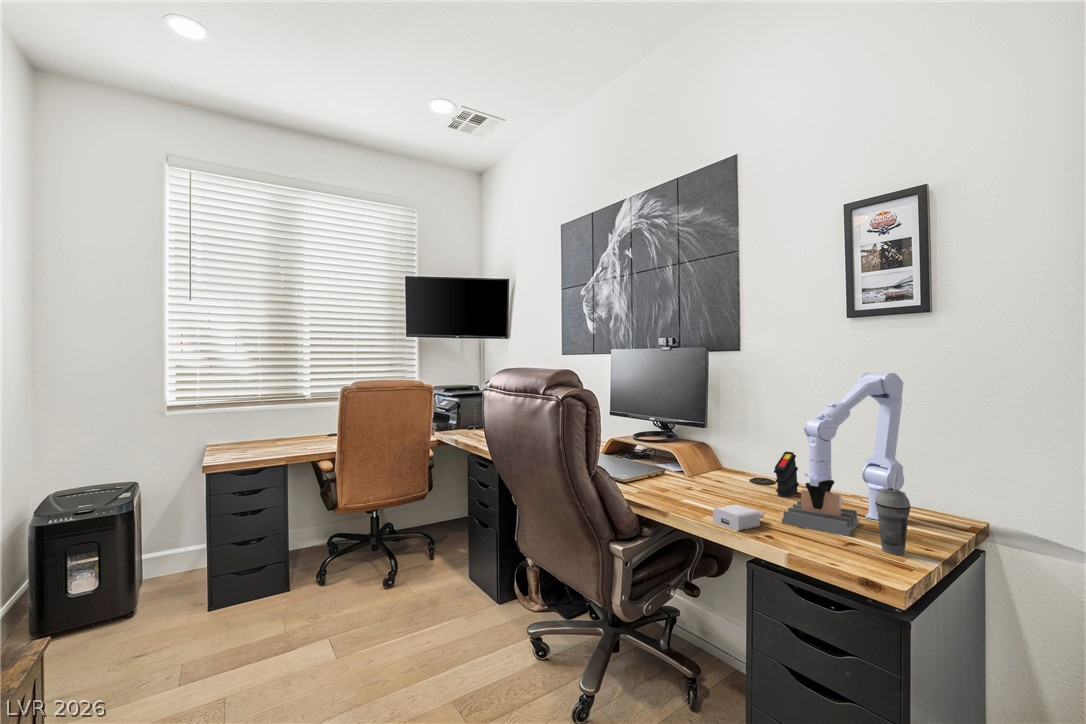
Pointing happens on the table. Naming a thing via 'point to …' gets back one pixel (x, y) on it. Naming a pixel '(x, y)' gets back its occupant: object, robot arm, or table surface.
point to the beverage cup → (893, 519)
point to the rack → (822, 520)
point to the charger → (737, 517)
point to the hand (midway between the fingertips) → (820, 506)
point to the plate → (829, 504)
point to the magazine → (786, 475)
